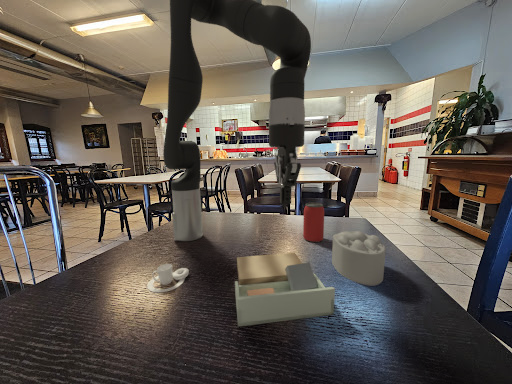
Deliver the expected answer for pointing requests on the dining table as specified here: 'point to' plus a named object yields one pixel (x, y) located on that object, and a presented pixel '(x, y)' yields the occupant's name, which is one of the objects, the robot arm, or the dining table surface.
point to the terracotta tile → (260, 291)
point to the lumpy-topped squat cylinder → (359, 257)
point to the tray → (282, 303)
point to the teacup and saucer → (167, 277)
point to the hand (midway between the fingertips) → (285, 203)
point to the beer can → (313, 222)
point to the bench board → (265, 268)
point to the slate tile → (300, 277)
